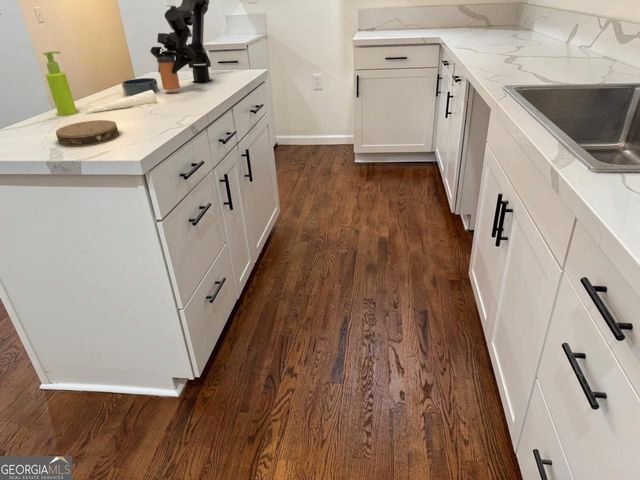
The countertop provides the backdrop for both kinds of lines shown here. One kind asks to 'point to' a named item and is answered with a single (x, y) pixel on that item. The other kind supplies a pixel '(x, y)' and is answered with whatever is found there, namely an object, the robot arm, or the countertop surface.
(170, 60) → the spice tin
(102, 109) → the unicorn horn
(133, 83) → the bowl
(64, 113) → the soap dispenser
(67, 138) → the round wood slice
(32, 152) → the countertop surface
